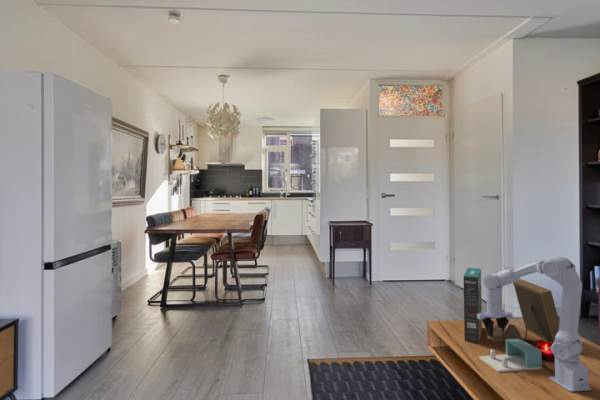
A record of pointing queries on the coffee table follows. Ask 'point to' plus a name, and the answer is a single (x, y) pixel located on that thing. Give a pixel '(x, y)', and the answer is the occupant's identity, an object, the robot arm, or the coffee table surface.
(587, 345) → the coffee table surface
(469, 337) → the cake mix box
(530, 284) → the photo frame
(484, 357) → the base plate
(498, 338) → the block
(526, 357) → the cover
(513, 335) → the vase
